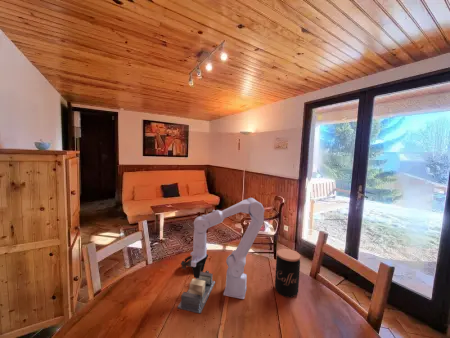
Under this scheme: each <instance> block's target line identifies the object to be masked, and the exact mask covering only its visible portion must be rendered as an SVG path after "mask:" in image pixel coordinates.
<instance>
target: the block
mask: <svg viewBox="0 0 450 338" xmlns="http://www.w3.org/2000/svg"><path fill="white" fill-rule="evenodd" d="M188 288H189V289H188V290H189V293H192V294H197V295H201V297H202V296H203V294H204V292H205V281H203V280H198V279H196V278H192V279H191V281H190V282H189V287H188Z"/></svg>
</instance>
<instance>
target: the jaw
mask: <svg viewBox="0 0 450 338" xmlns="http://www.w3.org/2000/svg"><path fill="white" fill-rule="evenodd" d="M195 279H198V280H203V281H205V284H207V285H211V284H212V281H213V273H212V272H211V273H210V271H209V270H206V271H203V272H201V271H200V276H199V278H195Z"/></svg>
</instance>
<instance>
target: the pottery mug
mask: <svg viewBox="0 0 450 338" xmlns="http://www.w3.org/2000/svg"><path fill="white" fill-rule="evenodd" d="M191 260H192V255H189V256H187V257H186V258H184V260H182V261H181V263H180V265H181V269H184V270H186V271H187V267H189V268H191V266H190V261H191Z"/></svg>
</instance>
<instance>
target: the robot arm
mask: <svg viewBox="0 0 450 338" xmlns="http://www.w3.org/2000/svg"><path fill="white" fill-rule="evenodd" d="M265 212H266V210H265V207H264V206H263V203H261V202H259V201H258V200H256V199H255V198H254V197H249V198H247V199H243V200H241V201H240V202H237V203H236V204H233V205H231V206H229V207H227V208H225V209H223V210H219V209H216V210H215V209H212V212H209V213H207V214H202V215H201V216H200V215H199V216H197V217H195V219H194V221H193V228H194V229H193V240H192V241H193V243H192V245H193V247H192V248H193V249H192V252H190V255H189V256H192V260H191V261H190V266H191V267H190V268H191V269H192V274H193V277H194V278H193V279H196V278H199V276H200V272H204V268H205V265H206V261H207V259H208V257H209V254H207V251H208V250H207V249H208V247H207V236H208V235H207V231H208V229H209V228H211V227H214V226H216V225H218V224H221V223H223V221H224V220H225V219H226V218H228V217H231V216H233V215H236V214H239V213H243V214H248V215H249V217H250V222H249V225H248V226H247V228H246V230H245V231H244V234H243V236H242V237H241V239H240V242H239V243H238V245H237V247H236V249H234V250H233V251H232V252H231V253H230V254H229V255H228V256H227V257H226V261H225V262H226V266H227V267H228V268H227V269H226V278H225V280H226V281H225V289H224V291H223V296H227V297H231V298H235V299H241V300H245V298H246V292H247V281H248V280H247V279H248V277H247V273H245V272H244V270H245V265H246V264H247V263H246V262H247V261H246V260H247V259H246V258H247V256H248V253H249V252H250V250H251V248H252V245H253V244H254V241H255V240H256V238H257V236H258V234H259V232H260V230H261V229H262V227H263V225H264V223H265V222H264V221H265V219H264V218H265Z"/></svg>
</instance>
